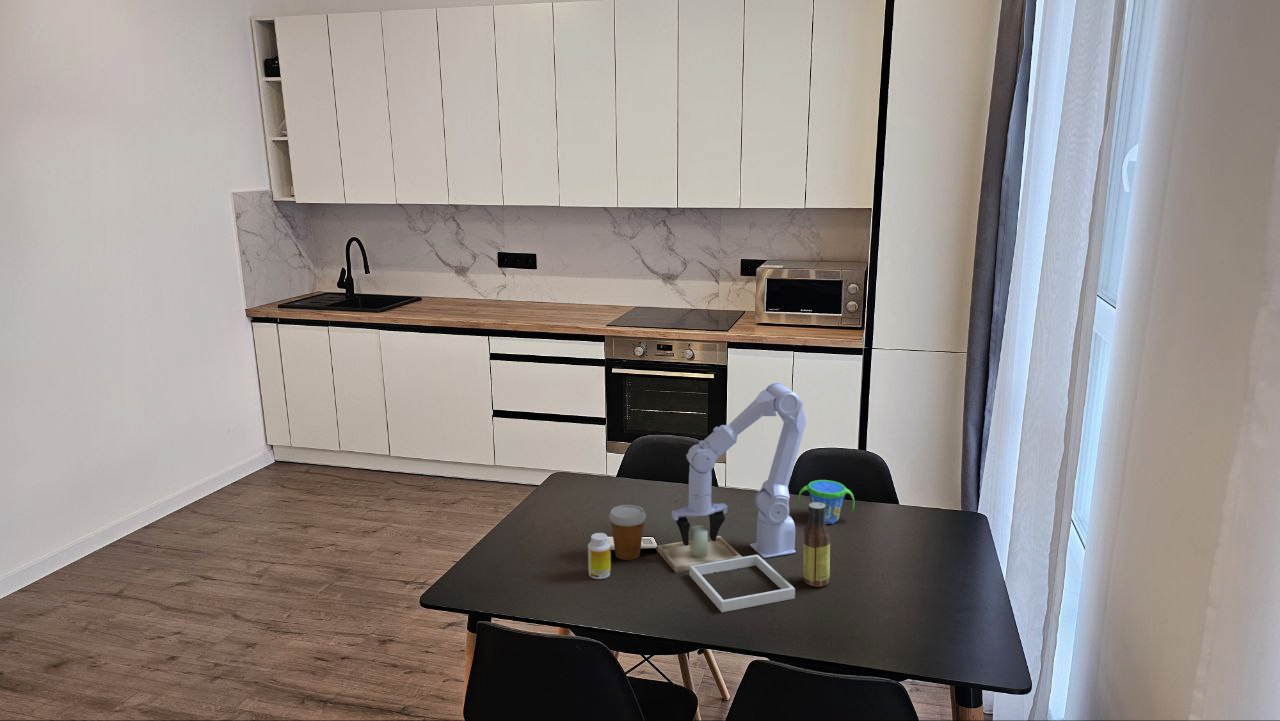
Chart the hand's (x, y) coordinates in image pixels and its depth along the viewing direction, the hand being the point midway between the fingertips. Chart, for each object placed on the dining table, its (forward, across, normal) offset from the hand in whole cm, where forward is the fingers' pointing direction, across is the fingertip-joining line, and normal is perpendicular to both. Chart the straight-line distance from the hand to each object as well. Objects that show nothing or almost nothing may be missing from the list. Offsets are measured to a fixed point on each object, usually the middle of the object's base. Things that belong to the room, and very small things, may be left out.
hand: (699, 541), depth 213 cm
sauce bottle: (+4, -21, +22) cm, 31 cm away
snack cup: (+4, -43, -9) cm, 44 cm away
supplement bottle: (+4, +27, +1) cm, 27 cm away
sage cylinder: (+3, 0, 0) cm, 3 cm away
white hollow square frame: (+4, -3, +18) cm, 19 cm away
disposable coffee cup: (+4, +17, -7) cm, 19 cm away
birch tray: (+4, 0, 0) cm, 4 cm away
